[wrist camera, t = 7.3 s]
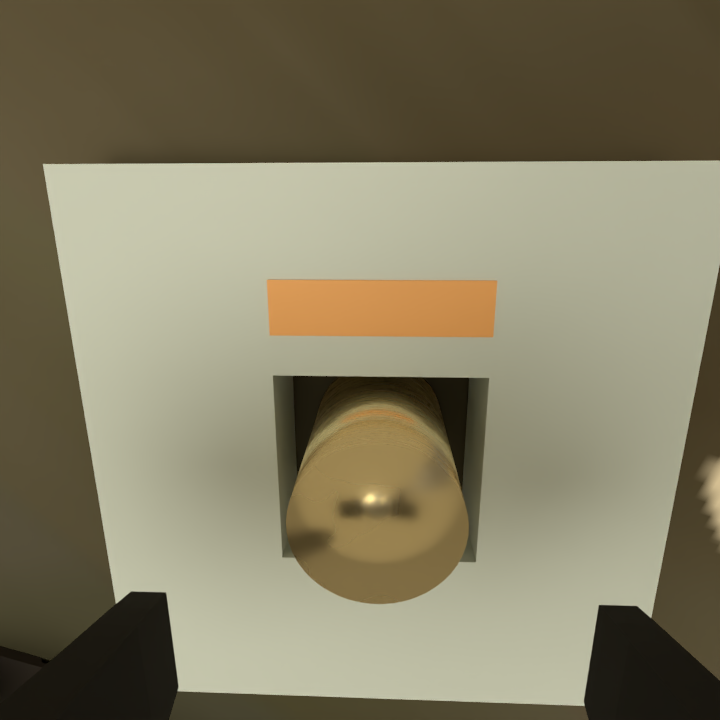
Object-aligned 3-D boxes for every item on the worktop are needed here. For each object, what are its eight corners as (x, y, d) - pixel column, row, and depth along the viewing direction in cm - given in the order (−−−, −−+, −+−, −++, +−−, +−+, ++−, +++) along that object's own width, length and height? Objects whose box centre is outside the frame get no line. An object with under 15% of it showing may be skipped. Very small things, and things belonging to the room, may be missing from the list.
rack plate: (670, 167, 15) (742, 160, 12) (596, 632, 19) (635, 710, 16) (106, 170, 15) (40, 163, 12) (166, 619, 20) (128, 692, 17)
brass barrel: (447, 365, 17) (479, 452, 11) (435, 478, 18) (458, 610, 12) (320, 357, 17) (286, 439, 11) (316, 470, 18) (285, 596, 12)
